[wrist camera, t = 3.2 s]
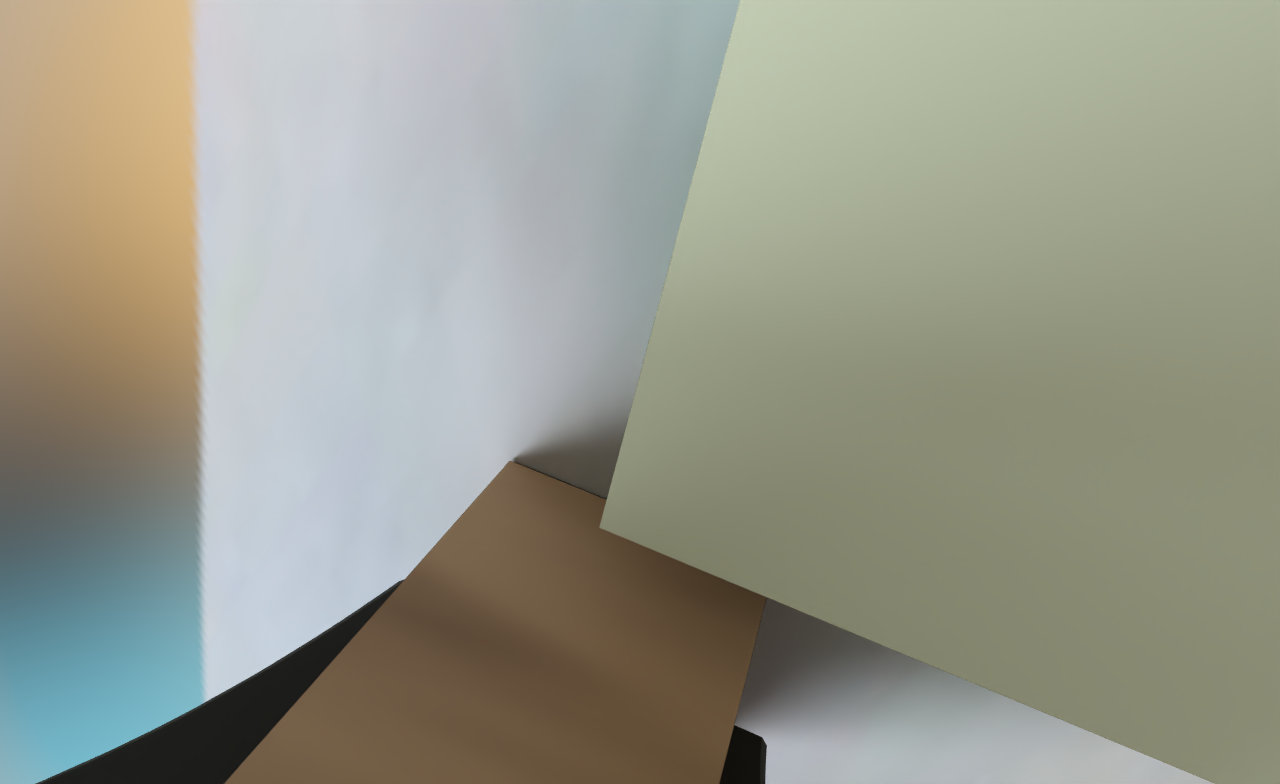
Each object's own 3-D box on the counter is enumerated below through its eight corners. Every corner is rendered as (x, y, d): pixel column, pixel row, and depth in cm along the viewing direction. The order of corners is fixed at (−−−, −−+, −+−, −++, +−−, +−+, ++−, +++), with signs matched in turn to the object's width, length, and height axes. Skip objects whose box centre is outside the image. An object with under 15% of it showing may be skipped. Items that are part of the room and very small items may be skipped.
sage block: (1232, 621, 10) (1337, 834, 7) (671, 407, 11) (599, 528, 9) (1898, -71, 6) (2671, -122, 3) (880, -287, 7) (858, -445, 4)
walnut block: (697, 739, 14) (568, 1172, 9) (479, 641, 14) (243, 987, 9) (773, 567, 11) (658, 1022, 6) (509, 460, 12) (217, 791, 7)
